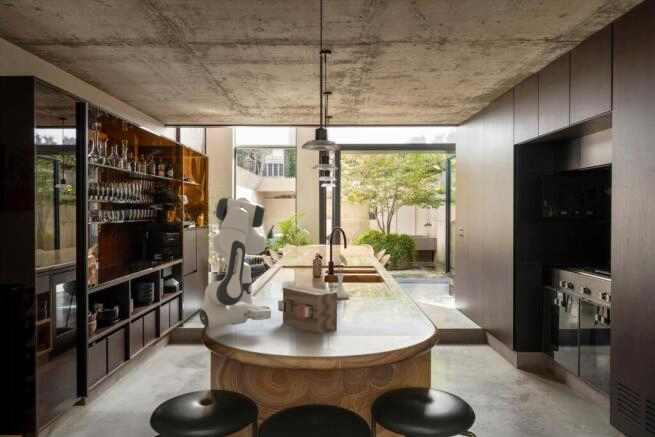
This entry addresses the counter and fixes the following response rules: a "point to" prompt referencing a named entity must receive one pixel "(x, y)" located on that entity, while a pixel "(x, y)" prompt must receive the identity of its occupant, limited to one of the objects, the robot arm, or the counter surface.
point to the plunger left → (285, 305)
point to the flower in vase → (340, 290)
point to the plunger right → (305, 311)
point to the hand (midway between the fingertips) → (267, 308)
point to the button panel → (322, 309)
